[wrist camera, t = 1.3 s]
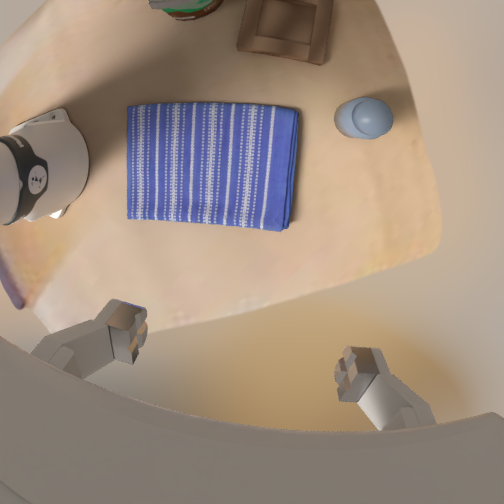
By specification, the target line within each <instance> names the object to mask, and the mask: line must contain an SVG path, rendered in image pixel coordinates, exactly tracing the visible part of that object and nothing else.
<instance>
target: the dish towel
mask: <svg viewBox="0 0 504 504" xmlns="http://www.w3.org/2000/svg"><path fill="white" fill-rule="evenodd" d="M127 112H128V123H127V209H128V213H127V216H128V219H138V220H150V219H151V220H165V221H174V222H191V223H203V224H219V225H226V226H239V227H244V228H245V227H246V228H257V229H262V230H270V231H278V232H279V231H281V230H283V229H287V228H288V227H289V221H290V214H291V207H292V199H293V184H294V174H295V165H296V154H297V135H298V116H299V113H298V112H297V111H295V110H294V109H288V108H282V107H276V106H266V105H256V104H236V103H215V102H214V103H198V102H194V103H164V104H163V103H159V104H149V105H139V106H128V108H127Z"/></svg>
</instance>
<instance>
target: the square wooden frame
mask: <svg viewBox="0 0 504 504" xmlns="http://www.w3.org/2000/svg"><path fill="white" fill-rule="evenodd" d="M332 6H333V0H247V4H246V8H245V12H244V16H243V20H242V24H241V29H240V33H239V38H238V42H237V49H238V51H246V52H253V53H261V54H267V55H273V56H279V57H284V58H289V59H294V60H299V61H304V62H308V63H312V64H317V65H322V64H323V62H324V56H325V50H326V44H327V38H328V32H329V26H330V19H331V13H332Z"/></svg>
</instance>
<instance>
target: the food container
mask: <svg viewBox="0 0 504 504" xmlns="http://www.w3.org/2000/svg"><path fill="white" fill-rule="evenodd" d="M222 2H223V0H149V5H150V6H151V8H152V9H162V10H163V11H165V12H166V13H168V14H169V15H171V16H172V17H173V18H175V19H176V20H182V21H186V20H195V19H198V18H201V17H204V16H206V15H208V14H210V13H211V12H213V11H215V10H216V9H217V8H218V7H219V6H220V4H221V3H222Z"/></svg>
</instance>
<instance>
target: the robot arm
mask: <svg viewBox="0 0 504 504" xmlns="http://www.w3.org/2000/svg"><path fill="white" fill-rule="evenodd" d="M54 117H55V119H54ZM88 169H89V157H88V151H87V146H86V143H85V141H84V138H83V137H82V135H81V133H80V132H79V131H78V129H77V128H76V127H75V126H74V125H72V123H71V122H70V120H69V117H68V115H67V112H66V111H65V109H63V108H61V109H56V110H54V111H51V112H48V113H46V114H43V115H41V116H38V117H36V118H34V119H31V120H29V121H27V122H24V123H22V124H20V125H18V126H16V127H14V128H12V129H11V131H10V133H9V135H7V136H2V137H0V226H1V225H9V224H12V223H15V222H17V221H19V220H21V219H22V218H24V219H26V220H28V221H29V222H33V221H35V220H38V219H40V218H43V217H45V216H50V217H53V218H55V219H57V218H60V217H62V215H63V214H64V212H65V210H66V208H67V206H68V205H69V204H70V203H72V202H73V201H74V200H75V199H76V198H77V197H78V196H79V195H80V193H81V192H82V190H83V188H84V186H85V183H86V180H87V176H88ZM146 317H147V310H146V308H144V307H140V306H137V305H133V304H130V303H127V302H123V301H120V300H116V299H111V300H110V301H109V302H108V303H107V304H106V306H105V307H104V308H103V309H102V311H101V312H100V313H99V314H98V316H97V317H96V318H95V319H94V321H93V320H88V321H85V322H83V323H80V324H77V325H75V326H72V327H69V328H66V329H64V330H61V331H58V332H56V333H53V334H50V335H47V336H45V337H44V338H43V339H42V340H41V342H40V343H39V344H38V345H37V346H36V348H35V349H34V350H33V351H32V352H31V354H30V353H28V352H26V351H24V350H22V349H21V348H19V347H17V346H16V345H14V344H12V343H10V342H9V341H7V340H6V339H4V338H3V337H1V336H0V504H504V418H503V417H501V416H499V415H498V414H496V413H494V412H490V413H485V414H482V415H478V416H474V417H470V418H466V419H461V420H456V421H451V422H446V423H440V424H436V421H435V418H434V416H433V414H432V411H431V408H430V406H429V404H428V403H427V402H425V401H424V400H423V399H422V398H421V397H419V396H418V395H417V394H416V393H415V392H414V391H412V390H411V389H410V388H409V387H408V386H407V385H405V384H404V383H403V382H402V381H401V380H399V379H398V378H397V377H396V376H395V375H391V374H390V371H389V368H388V367H387V363H386V361H385V359H384V356H383V354H382V351H381V350H380V349H379V348H370V347H369V348H366V347H355V346H347V347H346V348H345V349H344V351H343V356H344V357H343V358H341V359H340V360H339V361H338V362H337V364H336V367H335V375H334V377H335V381H336V382H337V383H338V384H339V387H338V388H337V392H338V397H339V401H342V402H358V403H357V404H358V405H359V406H360V407H361V409H362V410H363V411H364V412H365V414H366V415H367V416H368V417H369V419H370V420H371V421H372V423H373V424H374V425H375V426H376V427H377V429H378V430H379V431H357V432H324V431H323V432H321V431H300V430H287V429H276V428H266V427H258V426H251V425H243V424H237V423H231V422H225V421H220V420H215V419H209V418H204V417H200V416H196V415H191V414H187V413H182V412H179V411H175V410H171V409H167V408H164V407H160V406H156V405H153V404H150V403H146V402H143V401H140V400H137V399H134V398H131V397H128V396H125V395H122V394H119V393H116V392H114V391H111V390H108V389H105V388H103V387H100V386H98V385H95V384H93V383H90V382H88V381H85V380H83V379H84V378H86V377H87V376H89V375H91V374H93V373H94V372H96V371H98V370H99V369H101V368H102V367H104V366H106V365H107V364H109V363H111V362H112V361H114V359H115V360H119V361H121V362H125V363H128V364H132V365H133V364H134V362H135V360H136V358H137V356H138V354H139V350H138V348H140V347H142V346H143V345H144V343H145V340H146V337H147V331H148V326H147V324H146V322H145V319H146Z"/></svg>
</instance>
